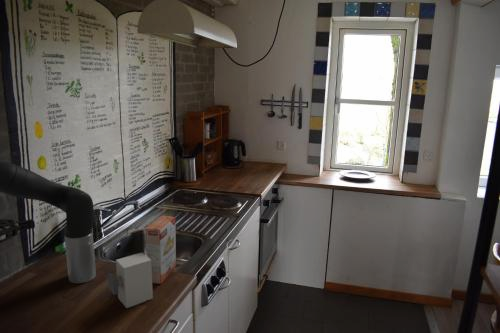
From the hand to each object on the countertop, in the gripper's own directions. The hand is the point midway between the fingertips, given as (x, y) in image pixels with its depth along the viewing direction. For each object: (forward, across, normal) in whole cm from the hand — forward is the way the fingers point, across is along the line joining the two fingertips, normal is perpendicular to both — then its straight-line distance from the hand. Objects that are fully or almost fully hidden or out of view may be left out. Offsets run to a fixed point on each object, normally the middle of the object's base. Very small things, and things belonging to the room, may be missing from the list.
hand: (34, 223), depth 106 cm
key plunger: (+22, -3, +27) cm, 35 cm away
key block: (+26, -3, +32) cm, 42 cm away
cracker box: (+41, +6, +32) cm, 52 cm away
